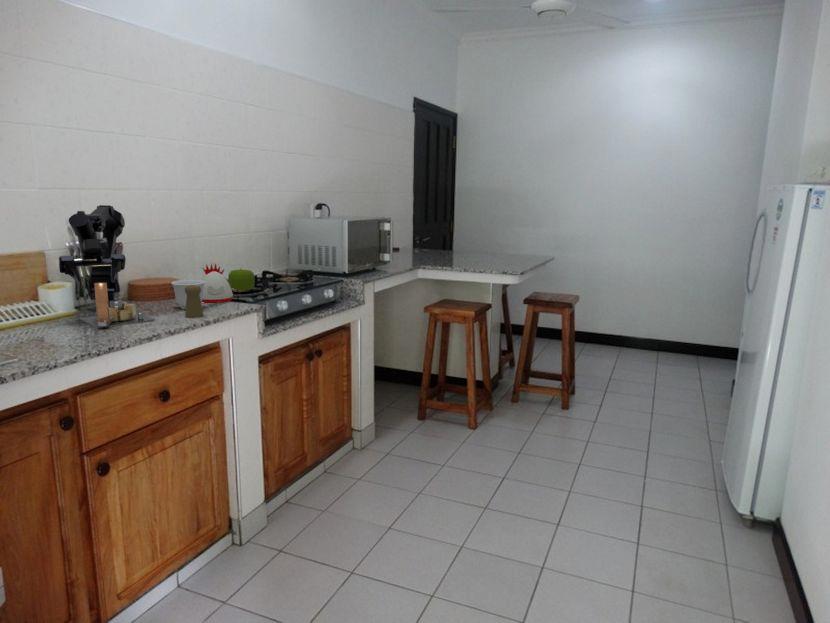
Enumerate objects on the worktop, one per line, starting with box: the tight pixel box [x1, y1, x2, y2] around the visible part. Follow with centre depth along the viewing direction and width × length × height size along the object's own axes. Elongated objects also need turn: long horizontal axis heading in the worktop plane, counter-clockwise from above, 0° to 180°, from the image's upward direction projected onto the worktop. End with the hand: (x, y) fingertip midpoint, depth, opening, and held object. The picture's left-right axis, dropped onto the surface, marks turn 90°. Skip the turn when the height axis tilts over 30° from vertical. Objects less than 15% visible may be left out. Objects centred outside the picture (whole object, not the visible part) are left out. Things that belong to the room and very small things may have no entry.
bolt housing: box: [78, 299, 156, 329], centre depth 192 cm, size 18×18×6 cm
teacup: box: [170, 279, 206, 310], centre depth 212 cm, size 12×15×10 cm
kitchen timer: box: [201, 263, 234, 304], centre depth 230 cm, size 14×14×15 cm
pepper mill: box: [184, 285, 204, 319], centre depth 200 cm, size 6×6×11 cm
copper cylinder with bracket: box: [94, 282, 137, 326], centre depth 186 cm, size 20×11×14 cm, turn 11°
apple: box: [227, 267, 255, 290], centre depth 250 cm, size 11×11×11 cm
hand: (97, 283), depth 183 cm, fingers open, 9 cm apart
